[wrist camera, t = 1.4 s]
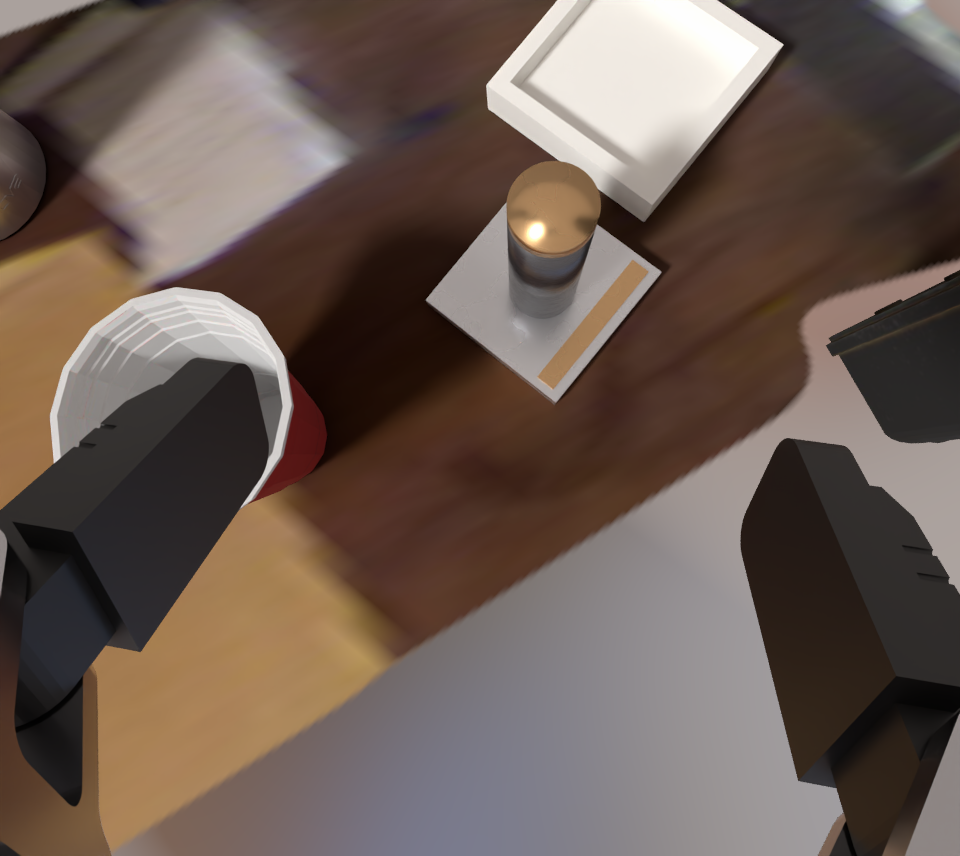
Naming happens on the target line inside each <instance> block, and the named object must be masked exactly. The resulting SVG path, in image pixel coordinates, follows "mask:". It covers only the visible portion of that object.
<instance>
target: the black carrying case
mask: <svg viewBox="0 0 960 856" xmlns="http://www.w3.org/2000/svg"><path fill="white" fill-rule="evenodd" d="M944 280H945V281H943V282H941V283H939V284H937V285H935V286H933V287H931V288H929V289H927V290H925V291H923V292H921V293H919V294H917V295H915V296H913V297H911V298H908V299H906V300H905V301H902V300H898V301H896V302H894V303H892V304H890V305H888V306H886V307H884V308H882V309H880V310H878V311H876V312H875V315H874V316H872V317H870V318H868V319H866V320H864V321H862V322H860V323H858V324H856V325H854V326H852V327H850V328H848V329H845V330H843V331H842V332H840V333H837V334H835V335H833V336H831V337H830V338H829V339H830V341H831V343H830V344H828V345H826V346H827V348H828V350H829V351H830V353H831V355H832V356H836V355H838V354H839V356H840V358H841V359H842V361H843V363H844V365H845V366H846V368H847V370H848V371H849V373H850V375H851V377H852V378H853V380H854V382H855V383H856V385H857V387H858V388H859V390H860V392H861V394H862V395H863V397H864V398H865V401H866V402H867V404H868V406H869V407H870V409H871V411H872V412H873V414H874V416H875V418H876V419H877V421H878V423H879V424H880V426H881V428H882V430H883V431H884V433H885V434H886V435H887V436H888V437H890V438H891V439H894V440H896V441H899V442H905V443H926V442H933V443H940V442H945V441H949V440H954V439H960V270H959V271H957V272H955V273H953V274H951V275H949V276H947V277H945V278H944Z"/></svg>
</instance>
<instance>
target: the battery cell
mask: <svg viewBox="0 0 960 856" xmlns="http://www.w3.org/2000/svg"><path fill="white" fill-rule="evenodd" d="M506 209H507V241H508V273H509V292H510V296H511V299H512V301H513V303H514V304H515V306H516V307H517V308H518V309H519V310H520V311H521V312H522V313H524V314H525V315H527V316H530V317H533V318H537V319H547V318H552V317H555V316H557V315H559V314H561V313H562V312H563V311H565V310H566V309H567V308H568V307H569V305H570V304H571V302H572V301H573V299H574V296H575V293H576V290H577V286H578V283H579V280H580V277H581V274H582V270H583V267H584V264H585V261H586V258H587V254H588V251H589V248H590V245H591V242H592V239H593V235H594V232H595V229H596V226H597V223H598V219H599V216H600V211H601V199H600V194H599V191H598V188H597V186H596V185H595V183H594V181H593V180H592V178H591V177H590V176H589V175H588V174H587V173H586V172H585V171H583V170H582V169H580V168H579V167H577V166H575V165H573V164H570V163H567V162H561V161H547V162H542V163H539V164H536V165H534V166H532V167H530V168H528V169H527V170H525V171H524V172H523V173H522V174H520V176H519V177H518V178H517V179H516V180H515V182H514V183H513V185H512V186H511V188H510V191H509V193H508V197H507V204H506Z"/></svg>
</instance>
